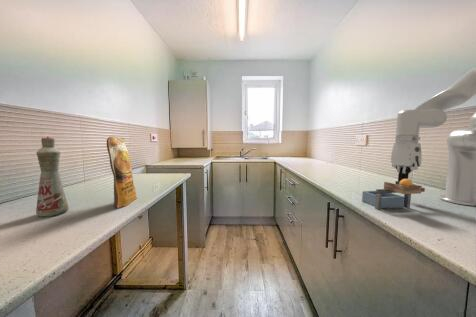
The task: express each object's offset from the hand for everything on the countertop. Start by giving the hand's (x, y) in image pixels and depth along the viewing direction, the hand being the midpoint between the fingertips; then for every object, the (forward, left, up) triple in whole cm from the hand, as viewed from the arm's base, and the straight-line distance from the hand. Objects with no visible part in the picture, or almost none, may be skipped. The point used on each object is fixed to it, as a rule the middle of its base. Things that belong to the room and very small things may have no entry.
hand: (402, 182), depth 87 cm
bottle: (+140, -3, -9) cm, 140 cm away
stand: (+13, +8, -8) cm, 17 cm away
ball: (+13, +13, +2) cm, 18 cm away
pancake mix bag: (+120, -13, -9) cm, 121 cm away
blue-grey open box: (+13, +3, -8) cm, 16 cm away
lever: (+8, +7, -2) cm, 11 cm away
